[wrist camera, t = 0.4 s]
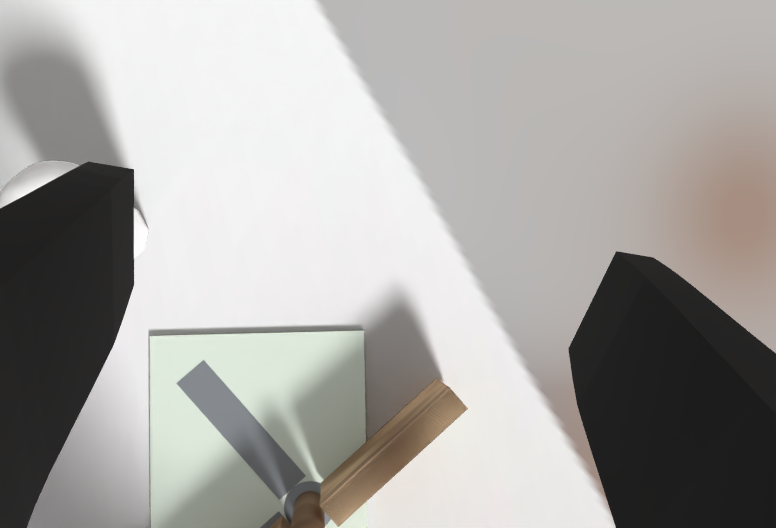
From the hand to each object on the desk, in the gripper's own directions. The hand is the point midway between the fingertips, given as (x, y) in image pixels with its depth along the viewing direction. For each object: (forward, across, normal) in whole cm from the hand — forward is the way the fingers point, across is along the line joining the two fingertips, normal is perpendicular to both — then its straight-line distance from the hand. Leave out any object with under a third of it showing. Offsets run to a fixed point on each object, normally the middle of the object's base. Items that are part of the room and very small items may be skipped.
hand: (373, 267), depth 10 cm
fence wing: (+15, -5, +22) cm, 27 cm away
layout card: (+14, +1, +25) cm, 29 cm away
